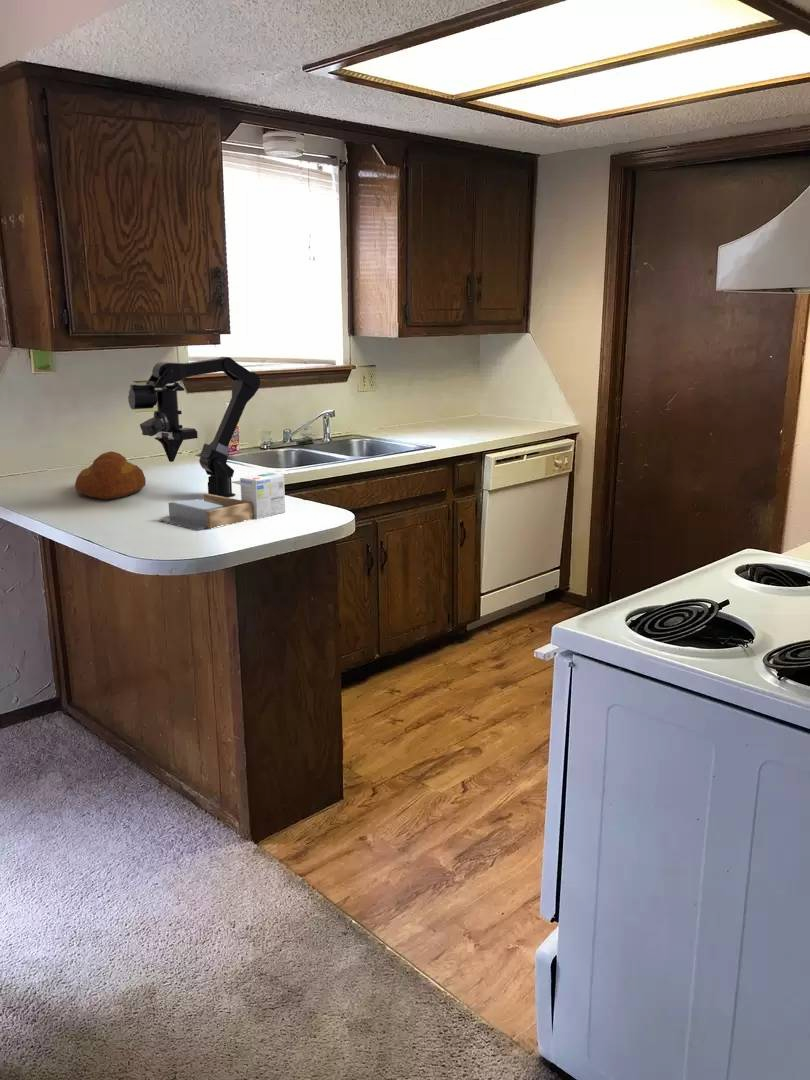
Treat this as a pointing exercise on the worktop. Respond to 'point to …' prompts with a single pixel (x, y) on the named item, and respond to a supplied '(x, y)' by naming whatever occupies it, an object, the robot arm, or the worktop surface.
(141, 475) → the bread
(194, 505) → the boxed book
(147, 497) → the worktop surface
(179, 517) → the grey angle iron
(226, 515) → the oak shelf corner
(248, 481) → the light bulb box
